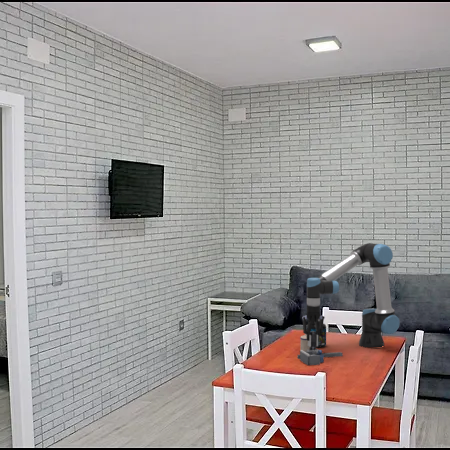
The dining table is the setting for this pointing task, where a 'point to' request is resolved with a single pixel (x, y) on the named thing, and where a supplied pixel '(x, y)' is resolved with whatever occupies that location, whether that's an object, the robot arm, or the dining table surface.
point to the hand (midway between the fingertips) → (312, 346)
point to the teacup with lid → (304, 343)
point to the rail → (329, 354)
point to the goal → (309, 358)
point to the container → (322, 336)
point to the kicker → (313, 347)
